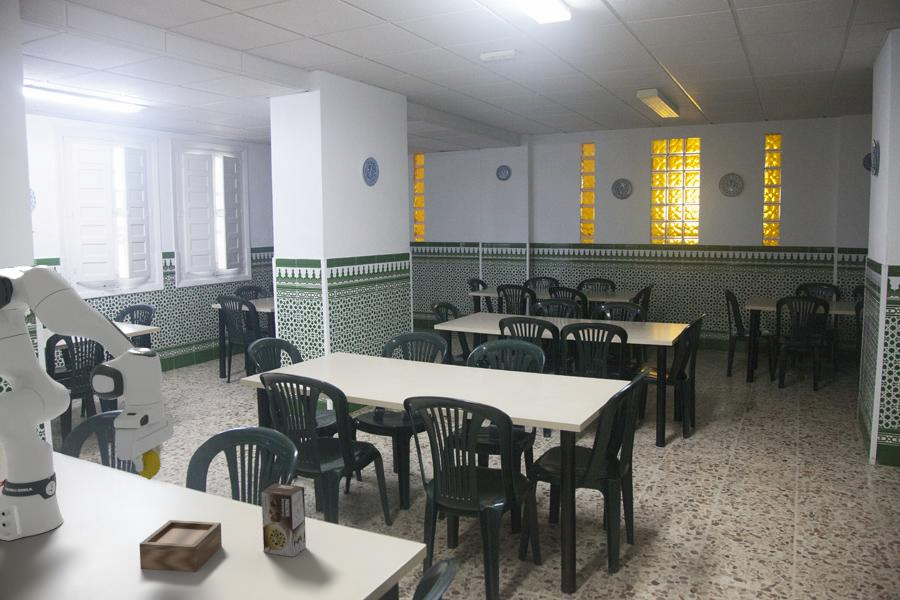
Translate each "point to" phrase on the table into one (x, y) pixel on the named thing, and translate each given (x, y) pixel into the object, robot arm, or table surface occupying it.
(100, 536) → the table surface
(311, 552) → the table surface
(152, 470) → the lemon
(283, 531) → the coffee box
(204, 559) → the walnut base
